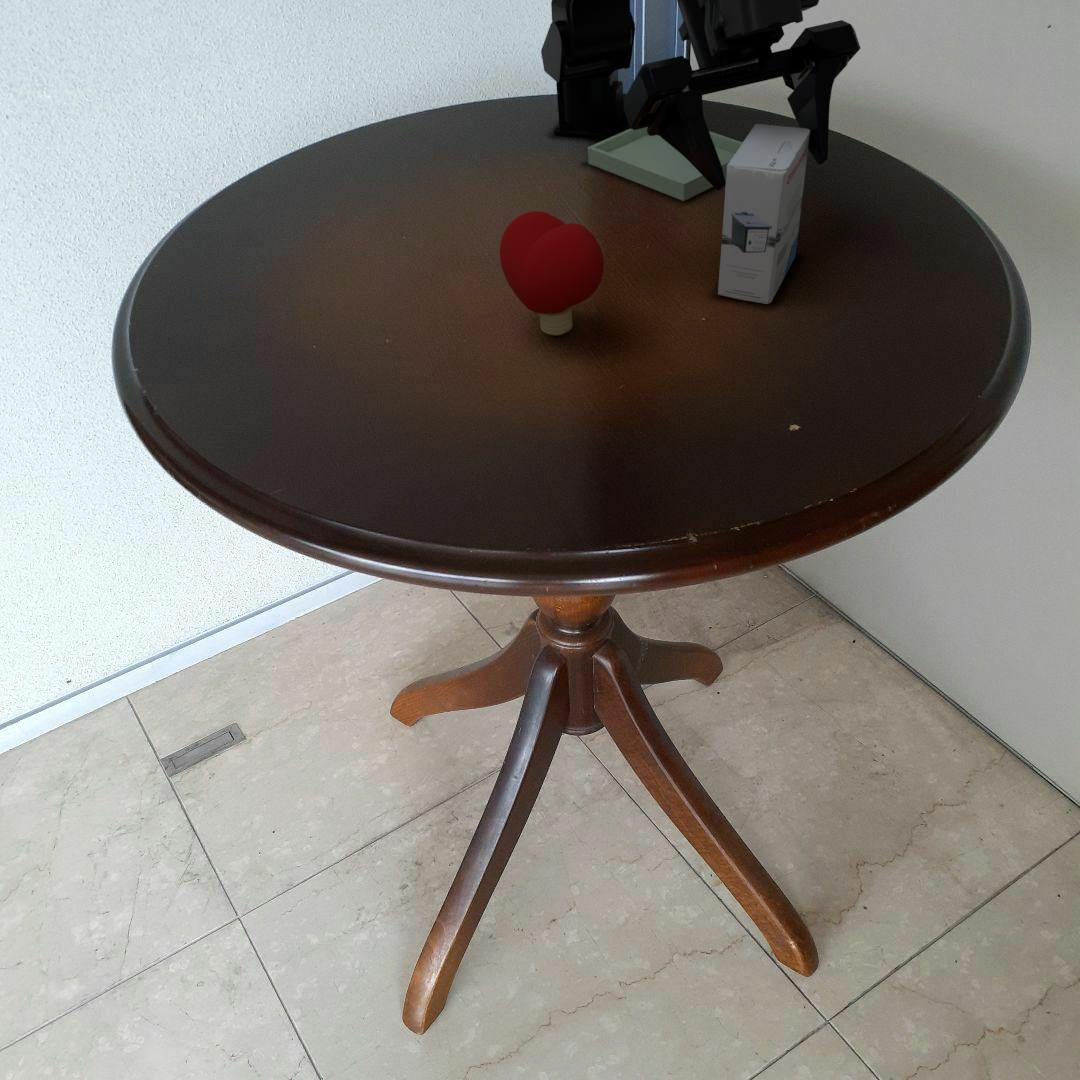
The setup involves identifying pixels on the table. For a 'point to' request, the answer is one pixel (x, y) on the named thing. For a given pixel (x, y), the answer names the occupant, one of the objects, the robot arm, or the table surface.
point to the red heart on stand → (550, 267)
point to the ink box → (762, 212)
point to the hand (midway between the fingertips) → (773, 174)
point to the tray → (657, 162)
